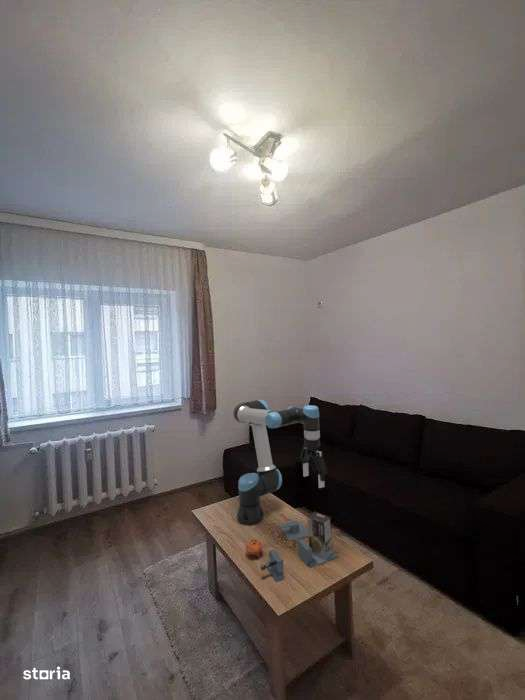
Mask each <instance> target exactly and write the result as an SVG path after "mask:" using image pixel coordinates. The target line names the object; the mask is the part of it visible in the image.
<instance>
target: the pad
mask: <svg viewBox="0 0 525 700" xmlns="http://www.w3.org/2000/svg"><path fill="white" fill-rule="evenodd" d="M312 557H313V558H314V559H315V560H316V561H317V566H321V565H323V564H325V563H327V562H330V561H333V560H335V559H337V558H339V557H340V556H339V554H338V553H337V552H336V551H334V550H333V553H332V554H331V555H330V556H329V557H328V558H327V559H324V558H322V557H320V556H318V555H316V554H314V553H312Z"/></svg>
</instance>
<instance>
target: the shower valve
mask: <svg viewBox="0 0 525 700" xmlns="http://www.w3.org/2000/svg"><path fill="white" fill-rule="evenodd" d="M278 527H279V528H280V530H281V531H282V532H283V534H284V536H285V537H286V539H287V540H288V542H293V541H298V540H300V539H305V538H309V533H308V527H306V526H305V524H304V523H303V522H301V521H298V520H296V519H294V520H293V519H292V520H288V521H286V522H283V523H280V524H278Z"/></svg>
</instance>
